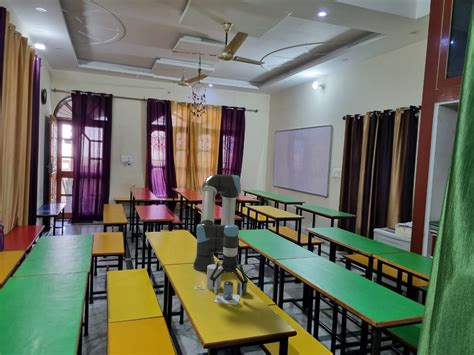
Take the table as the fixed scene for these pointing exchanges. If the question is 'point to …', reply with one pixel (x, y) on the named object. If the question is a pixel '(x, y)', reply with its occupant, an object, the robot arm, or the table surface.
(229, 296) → the cylinder
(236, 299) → the mat
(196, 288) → the label card
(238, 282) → the relay block
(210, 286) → the cup
